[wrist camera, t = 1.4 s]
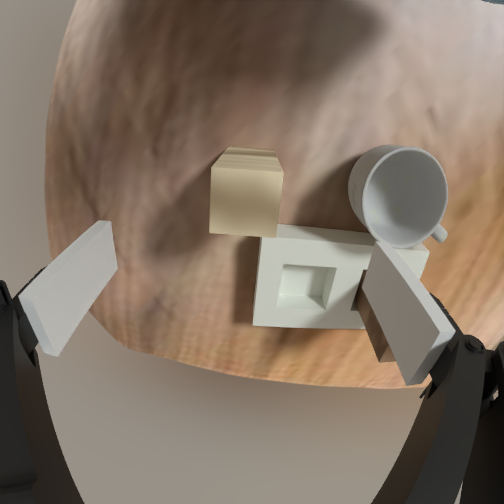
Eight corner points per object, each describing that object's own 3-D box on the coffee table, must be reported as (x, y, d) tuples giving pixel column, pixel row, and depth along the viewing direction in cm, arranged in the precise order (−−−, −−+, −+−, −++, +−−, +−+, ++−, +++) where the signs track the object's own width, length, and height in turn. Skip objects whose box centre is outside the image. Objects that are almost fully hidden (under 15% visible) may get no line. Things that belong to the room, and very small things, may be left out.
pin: (229, 146, 31) (211, 167, 19) (273, 149, 31) (283, 172, 19) (226, 187, 33) (209, 232, 21) (269, 191, 33) (275, 238, 21)
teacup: (322, 177, 32) (340, 197, 25) (385, 120, 28) (419, 126, 21) (384, 251, 36) (408, 283, 29) (438, 202, 33) (471, 224, 26)
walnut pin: (360, 263, 36) (396, 328, 25) (391, 265, 36) (433, 327, 25) (350, 293, 38) (379, 362, 27) (381, 294, 39) (415, 359, 27)
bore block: (261, 222, 35) (262, 236, 31) (416, 238, 35) (429, 251, 32) (253, 306, 41) (252, 325, 37) (389, 311, 41) (398, 328, 38)
